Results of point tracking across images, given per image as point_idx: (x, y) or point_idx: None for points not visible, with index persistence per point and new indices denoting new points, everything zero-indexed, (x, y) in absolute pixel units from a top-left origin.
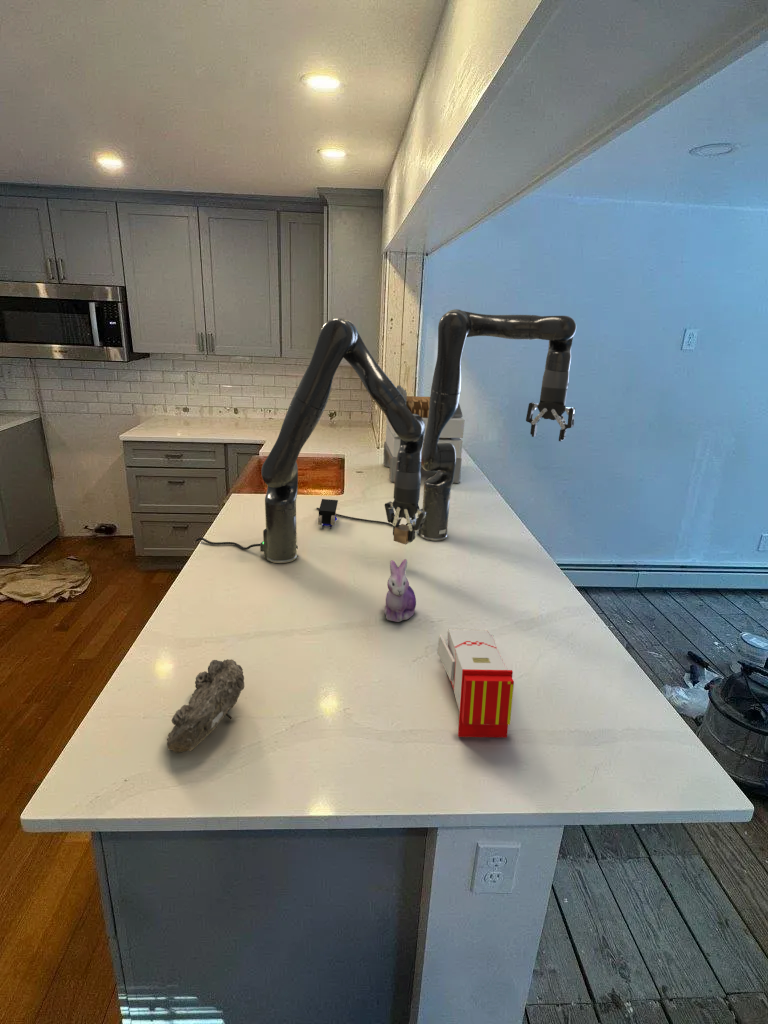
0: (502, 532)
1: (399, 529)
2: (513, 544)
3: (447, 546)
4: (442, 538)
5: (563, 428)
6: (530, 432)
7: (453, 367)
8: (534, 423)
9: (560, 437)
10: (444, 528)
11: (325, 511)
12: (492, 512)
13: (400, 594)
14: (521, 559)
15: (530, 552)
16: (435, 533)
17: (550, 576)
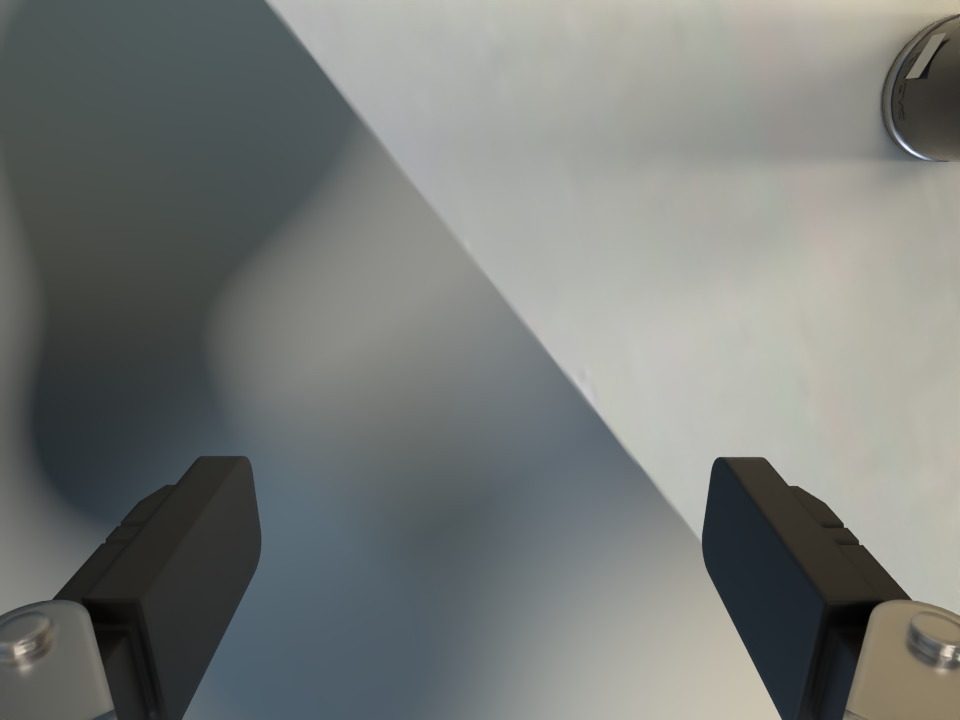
0: (666, 355)
1: None
2: (578, 255)
3: (846, 12)
4: (899, 63)
5: (27, 615)
6: (826, 506)
7: None
8: (882, 635)
9: (191, 487)
10: (929, 70)
11: None
12: None
13: None
14: (488, 109)
15: (484, 217)
16: (954, 23)
17: (313, 7)
